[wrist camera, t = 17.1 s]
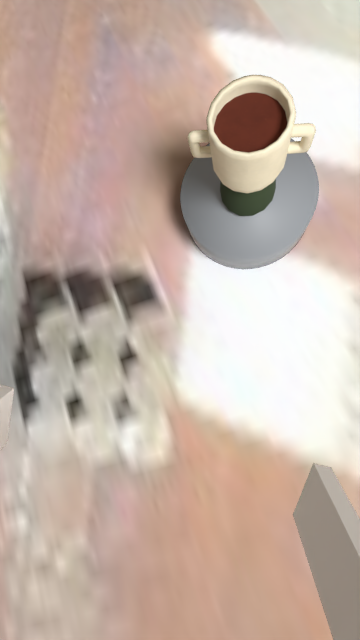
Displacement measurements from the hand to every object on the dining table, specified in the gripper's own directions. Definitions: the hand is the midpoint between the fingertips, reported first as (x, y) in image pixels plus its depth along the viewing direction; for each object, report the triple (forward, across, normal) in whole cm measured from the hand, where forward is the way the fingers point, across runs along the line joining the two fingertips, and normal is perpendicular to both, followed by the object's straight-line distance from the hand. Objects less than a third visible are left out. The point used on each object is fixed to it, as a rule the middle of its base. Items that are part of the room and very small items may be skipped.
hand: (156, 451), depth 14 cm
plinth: (+34, +4, +14) cm, 37 cm away
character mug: (+30, +4, +15) cm, 34 cm away
